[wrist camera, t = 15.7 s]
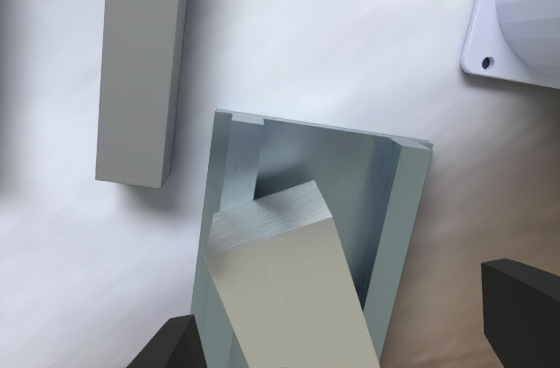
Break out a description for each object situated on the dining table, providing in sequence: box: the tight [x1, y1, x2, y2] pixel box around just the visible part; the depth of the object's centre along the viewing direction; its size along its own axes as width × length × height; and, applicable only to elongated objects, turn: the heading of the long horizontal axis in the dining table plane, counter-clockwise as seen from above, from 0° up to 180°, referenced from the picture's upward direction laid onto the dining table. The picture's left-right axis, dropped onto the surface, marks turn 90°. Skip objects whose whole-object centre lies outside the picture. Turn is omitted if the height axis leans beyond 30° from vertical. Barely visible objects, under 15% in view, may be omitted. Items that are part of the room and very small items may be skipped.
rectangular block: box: [204, 180, 380, 368], centre depth 17 cm, size 4×10×4 cm, turn 18°
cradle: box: [190, 109, 433, 368], centre depth 20 cm, size 9×14×2 cm, turn 171°
